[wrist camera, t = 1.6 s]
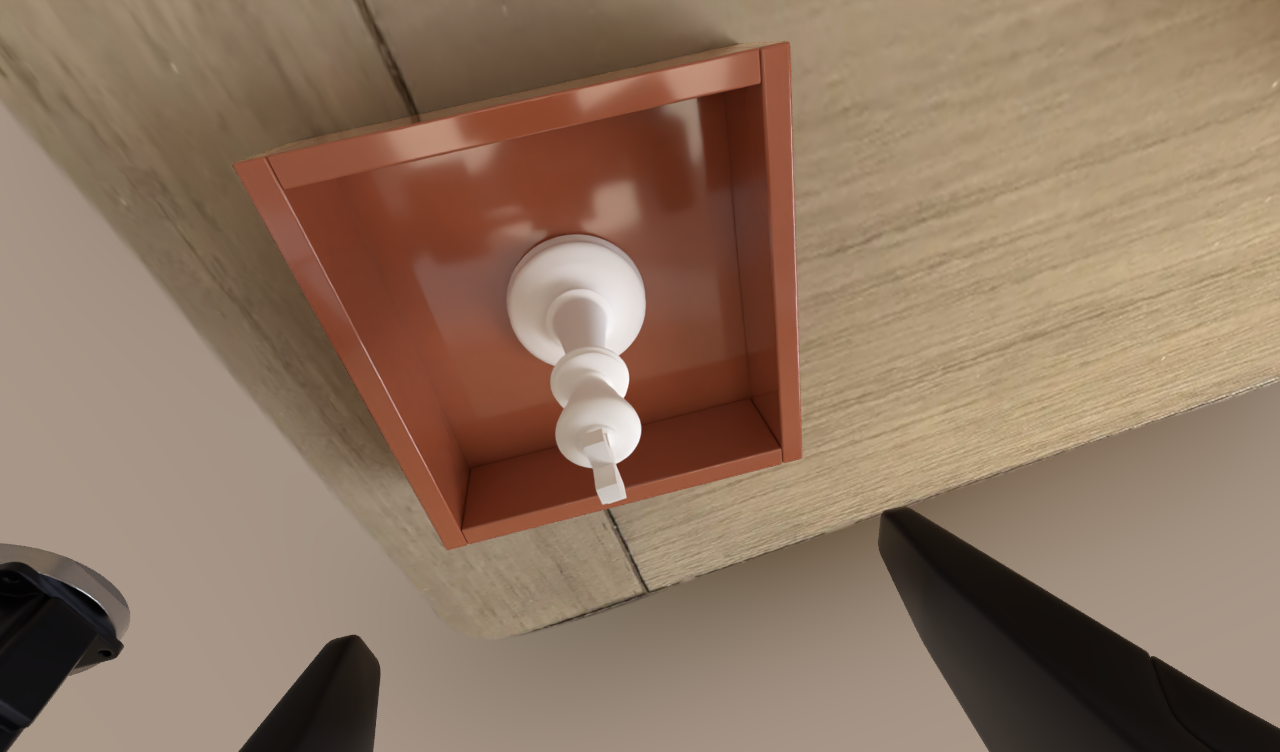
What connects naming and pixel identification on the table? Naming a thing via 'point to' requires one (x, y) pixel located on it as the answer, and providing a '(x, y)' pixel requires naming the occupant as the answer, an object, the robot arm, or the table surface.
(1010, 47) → the table surface
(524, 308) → the chess piece
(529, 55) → the table surface
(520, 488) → the open box
